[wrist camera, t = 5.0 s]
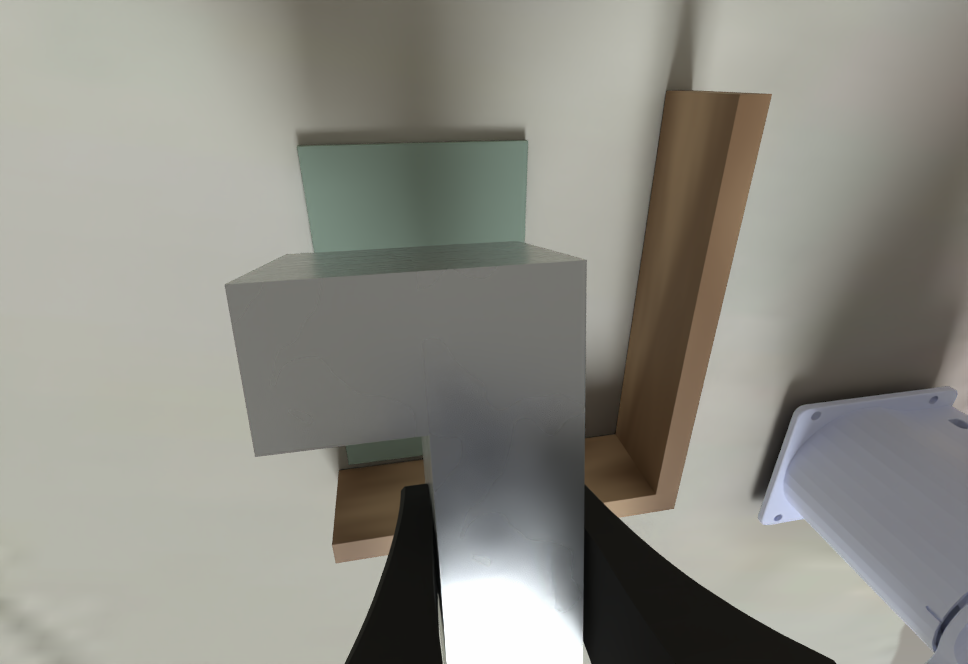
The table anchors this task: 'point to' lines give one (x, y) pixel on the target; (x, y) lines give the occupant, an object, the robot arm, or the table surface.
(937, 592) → the robot arm
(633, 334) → the brown wooden l-shaped piece
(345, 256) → the bracket
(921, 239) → the table surface
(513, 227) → the pad
